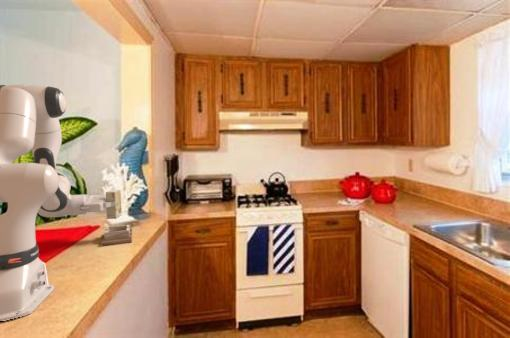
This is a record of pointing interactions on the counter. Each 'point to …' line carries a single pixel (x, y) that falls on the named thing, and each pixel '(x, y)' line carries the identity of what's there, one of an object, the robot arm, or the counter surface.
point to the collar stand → (117, 235)
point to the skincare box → (115, 197)
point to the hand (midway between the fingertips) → (115, 201)
